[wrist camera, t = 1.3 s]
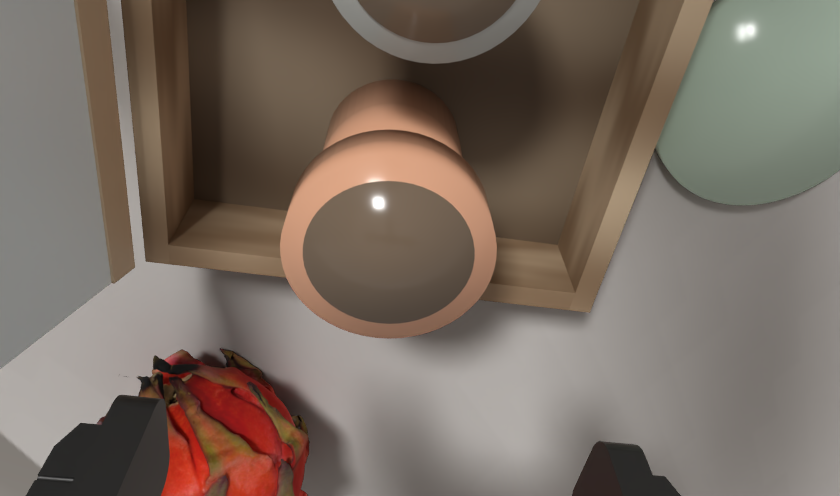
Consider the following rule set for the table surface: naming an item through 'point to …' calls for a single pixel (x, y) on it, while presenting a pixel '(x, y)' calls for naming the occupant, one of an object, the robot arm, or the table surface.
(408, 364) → the table surface
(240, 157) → the box
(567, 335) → the table surface
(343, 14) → the grey pot
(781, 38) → the saucer
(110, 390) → the table surface
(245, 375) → the dragon fruit
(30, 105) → the lid
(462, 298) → the terracotta pot
